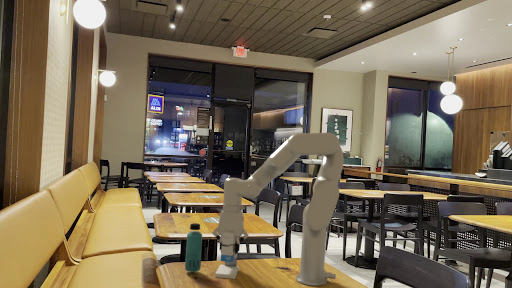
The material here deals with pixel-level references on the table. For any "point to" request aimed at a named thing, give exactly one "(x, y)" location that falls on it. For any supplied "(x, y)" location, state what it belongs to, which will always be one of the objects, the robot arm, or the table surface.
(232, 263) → the bookend
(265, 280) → the table surface
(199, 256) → the beverage bottle
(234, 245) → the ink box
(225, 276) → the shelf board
